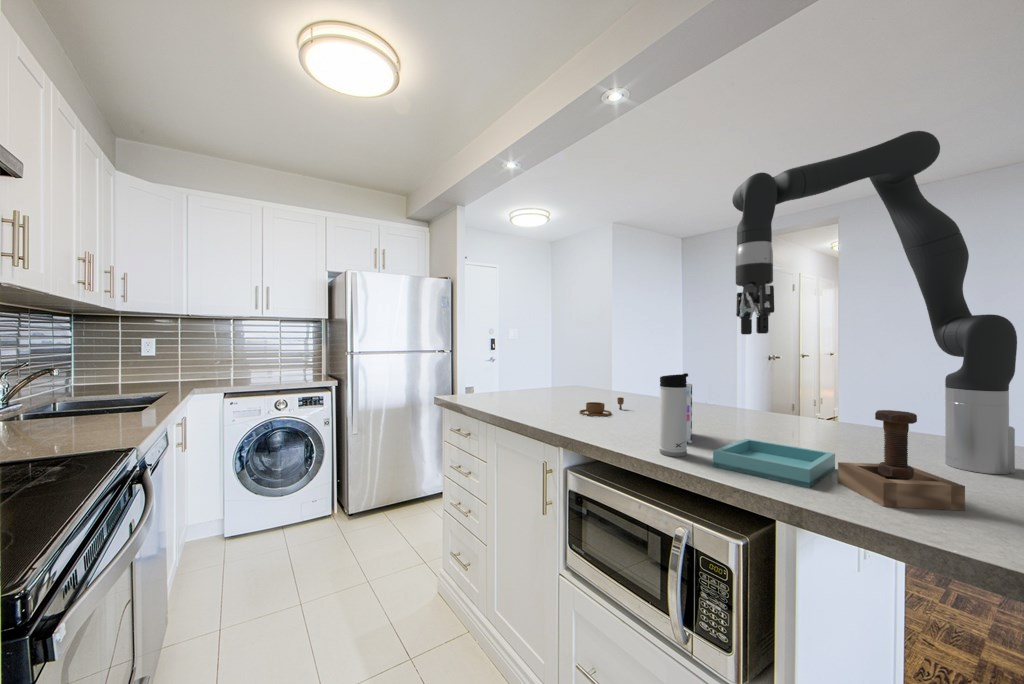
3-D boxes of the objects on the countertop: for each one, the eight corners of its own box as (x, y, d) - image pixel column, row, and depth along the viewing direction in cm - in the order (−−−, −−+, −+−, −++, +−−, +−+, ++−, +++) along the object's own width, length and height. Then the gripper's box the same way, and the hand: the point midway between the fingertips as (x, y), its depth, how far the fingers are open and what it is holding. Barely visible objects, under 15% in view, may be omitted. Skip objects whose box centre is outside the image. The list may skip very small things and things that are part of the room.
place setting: (574, 412, 167) (574, 397, 167) (622, 411, 169) (622, 397, 169) (586, 420, 149) (586, 404, 149) (639, 419, 152) (639, 403, 152)
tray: (746, 452, 104) (746, 438, 104) (835, 469, 90) (835, 453, 90) (713, 466, 92) (713, 450, 92) (809, 488, 79) (809, 469, 79)
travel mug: (685, 458, 98) (685, 374, 98) (657, 454, 102) (657, 373, 102) (690, 452, 104) (690, 372, 104) (662, 449, 107) (662, 371, 107)
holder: (906, 485, 80) (906, 464, 80) (965, 510, 68) (965, 486, 68) (837, 482, 82) (838, 462, 82) (883, 506, 70) (883, 482, 70)
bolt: (910, 503, 71) (910, 415, 71) (872, 494, 75) (872, 411, 75) (919, 496, 74) (919, 412, 75) (882, 488, 79) (882, 408, 79)
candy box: (693, 444, 113) (693, 383, 113) (670, 443, 114) (670, 383, 114) (681, 433, 126) (681, 379, 126) (661, 432, 127) (660, 378, 127)
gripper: (787, 257, 89) (787, 333, 89) (757, 269, 103) (757, 334, 103) (749, 258, 90) (749, 333, 90) (725, 269, 104) (725, 334, 104)
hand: (753, 334), depth 96 cm, fingers open, 8 cm apart
